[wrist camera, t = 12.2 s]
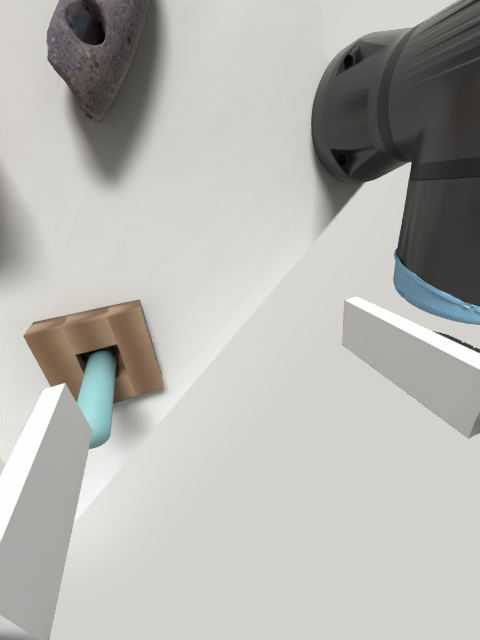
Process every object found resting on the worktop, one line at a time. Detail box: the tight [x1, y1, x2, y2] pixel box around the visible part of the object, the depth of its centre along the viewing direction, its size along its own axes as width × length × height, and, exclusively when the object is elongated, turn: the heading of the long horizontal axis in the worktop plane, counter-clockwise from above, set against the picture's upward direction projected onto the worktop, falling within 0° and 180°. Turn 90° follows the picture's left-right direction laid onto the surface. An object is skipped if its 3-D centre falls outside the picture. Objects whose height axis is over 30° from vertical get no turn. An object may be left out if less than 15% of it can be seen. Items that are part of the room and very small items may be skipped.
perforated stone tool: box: [47, 0, 151, 122], centre depth 21 cm, size 15×5×7 cm, turn 145°
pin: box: [77, 345, 117, 449], centre depth 29 cm, size 3×3×14 cm
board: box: [23, 300, 164, 403], centre depth 34 cm, size 12×12×4 cm
